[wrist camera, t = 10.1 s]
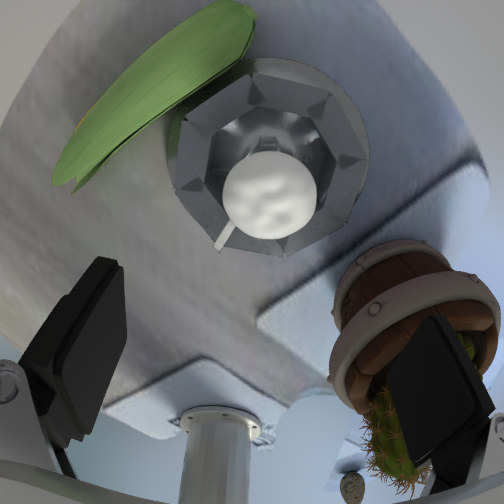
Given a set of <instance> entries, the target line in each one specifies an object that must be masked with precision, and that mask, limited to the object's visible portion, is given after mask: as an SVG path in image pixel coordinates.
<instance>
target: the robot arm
mask: <svg viewBox="0 0 504 504" xmlns="http://www.w3.org/2000/svg"><path fill="white" fill-rule="evenodd" d="M126 340H127V326H126V312H125V294H124V270H123V267H122V266H118V261H117V260H115V259H110V258H105V257H101V256H98V257H97V258H96V259H95V260H94V261H93V262H92V264H91V265H90V266H89V268H88V269H87V270H86V272H85V273H84V274H83V275H82V277H81V278H80V279H79V281H78V282H77V283H76V285H75V286H74V288H73V289H72V290H71V292H70V293H69V294H68V295H65V296H63V297H62V298H61V299H60V300H59V302H58V303H57V305H56V306H55V307H54V309H53V310H52V312H51V313H50V314H49V316H48V317H47V319H46V320H45V322H44V323H43V325H42V326H41V328H40V329H39V331H38V332H37V334H36V335H35V337H34V338H33V340H32V341H31V343H30V344H29V346H28V347H27V349H26V351H25V352H24V354H23V355H22V357H21V359H20V360H19V362H18V363H15V362H13V361H11V360H6V359H1V360H0V504H168V503H163V502H158V501H153V500H148V499H144V498H139V497H135V496H131V495H128V494H124V493H120V492H116V491H113V490H109V489H106V488H103V487H99V486H96V485H93V484H90V483H87V482H84V481H80V479H79V477H78V475H77V472H76V470H75V468H74V466H73V464H72V461H71V459H70V457H69V455H68V452H67V450H66V448H67V447H68V445H69V443H70V440H71V438H72V439H75V440H78V441H81V442H82V441H83V438H84V435H85V434H87V435H89V434H90V433H91V432H92V430H93V427H94V424H95V421H96V418H97V416H98V412H99V410H100V407H101V405H102V402H103V399H104V397H105V394H106V391H107V389H108V386H109V384H110V381H111V379H112V376H113V373H114V371H115V368H116V366H117V364H118V361H119V359H120V356H121V354H122V351H123V349H124V347H125V344H126ZM387 383H388V386H389V389H390V392H391V395H392V399H393V402H394V405H395V408H396V412H397V415H398V418H399V422H400V425H401V429H402V432H403V436H404V439H405V443H406V447H407V450H408V454H409V458H410V460H411V461H412V462H413V464H414V468H415V469H420V468H425V467H428V466H429V465H431V464H432V466H433V468H432V470H431V473H430V475H429V477H428V480H427V482H426V484H425V487H424V489H423V491H422V493H421V495H420V497H419V498H417V499H413V500H408V501H404V502H399V503H394V504H504V413H497V414H495V415H494V416H493V417H492V418H491V419H489V417H488V416H489V415H490V414H491V413H492V412H493V411H494V410H495V409H496V408H495V406H494V404H493V402H492V400H491V398H490V396H489V394H488V392H487V390H486V388H485V386H484V384H483V382H482V380H481V378H480V376H479V374H478V372H477V370H476V368H475V366H474V365H473V363H472V361H471V359H470V357H469V355H468V354H467V352H466V350H465V348H464V347H463V345H462V343H461V341H460V340H459V338H458V336H457V334H456V333H455V331H454V329H453V328H452V326H451V324H450V323H449V321H448V319H447V318H446V317H445V316H442V315H434V314H430V315H428V316H427V317H426V318H424V319H423V320H422V321H421V323H420V325H419V326H418V328H417V329H416V331H415V333H414V334H413V336H412V337H411V339H410V340H409V342H408V343H407V345H406V346H405V348H404V349H403V351H402V352H401V354H400V355H399V357H398V358H397V359H396V361H395V362H394V364H393V365H392V367H391V368H390V369H389V371H388V373H387ZM180 427H181V429H182V430H183V431H184V432H185V433H186V434H188V438H187V444H186V451H185V457H184V465H183V471H182V477H181V484H180V491H179V499H178V504H249V483H250V454H251V441H254V440H255V439H257V438H258V437H259V436H260V435H261V423H260V421H259V420H258V419H257V418H255V417H254V416H253V415H251V414H249V413H247V412H244V411H241V410H238V409H234V408H229V407H221V406H203V407H196V408H192V409H190V410H187V411H186V412H184V413H183V414H182V415H181V418H180Z"/></svg>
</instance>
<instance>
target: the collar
mask: <svg viewBox="0 0 504 504" xmlns="http://www.w3.org/2000/svg"><path fill="white" fill-rule="evenodd" d="M260 135H264V136H276V137H277V138H279V139H280V140H281V141H283V142H284V143H285V144H287V146H288V147H289V148H290V149H291V151H292V152H293V153H294V154H295V156H296V157H297V158H298V159H299V160H300V161H301V162H302V163H303V164H304V165H305V167H306V168H307V169H308V170H309V172H310V173H311V175H312V177H313V179H314V181H315V184H316V190H317V197H316V207H315V211H314V214H313V216H312V217H311V219H310V220H309V221H308V223H307V224H306V225H305V226H304V227H302V228H301V229H299V230H298V231H296V232H294V233H292V234H290V235H288V236H286V237H283V238H279V239H260V238H255V237H252V236H250V235H248V234H246V233H244V232H243V231H241V230H240V229H239V228H238V227H237V226H235V228H234V230H233V231H232V233H231V235H230V236H229V238H228V240H227V241H226V243H225V245H224V247H229V248H235V249H240V250H245V251H251V252H256V253H261V254H267V255H272V256H277V257H283V254H284V253H285V254H286V256H287V257H288V256H290V255H292V254H293V253H295V252H297V251H299V250H301V249H303V248H305V247H307V246H308V245H310V244H312V243H314V242H316V241H318V240H320V239H322V238H323V237H325V236H327V235H329V234H331V233H333V232H335V231H336V230H338V229H340V228H342V227H344V226H343V224H342V222H345V223H347V221H348V218H349V216H350V213H351V210H352V207H353V205H354V204H355V202H356V200H357V199H358V197H359V195H360V193H361V191H362V188H363V186H364V183H365V179H366V176H367V172H368V165H369V143H368V137H367V132H366V129H365V125H364V122H363V120H362V118H361V115H360V113H359V111H358V109H357V108H356V106H355V104H354V103H353V101H352V100H351V98H350V97H349V96H348V95H347V94H346V92H345V91H344V90H343V89H342V88H341V87H340V86H339V85H338V84H337V83H336V82H334V81H333V80H332V79H331V78H329V77H328V76H326V75H325V74H323V73H322V72H320V71H318V70H316V69H314V68H312V67H310V66H308V65H305V64H302V63H299V62H296V61H293V60H287V59H281V58H255V59H248V60H244V61H240V62H237V63H236V64H234V65H233V66H232V67H231V68H230V69H229V70H228V71H227V72H225V73H224V74H222V75H220V76H219V77H217V78H216V79H214V80H213V81H211V82H210V83H208V84H207V85H205V86H204V87H202V88H201V89H199V90H198V91H196V92H195V93H193V94H192V95H190V96H189V97H187V98H186V99H185V100H184V101H183V103H182V104H181V105H180V107H179V109H178V111H177V113H176V115H175V117H174V120H173V123H172V125H171V128H170V132H169V137H168V143H167V162H168V170H169V174H170V179H171V182H172V185H173V188H174V190H175V194H176V195H177V196H178V198H179V200H180V202H181V203H182V204H183V206H184V207H185V209H186V210H187V212H188V213H189V214H190V215H191V216H192V217H193V218H194V219H195V220H196V221H197V222H198V223H199V224H200V225H201V226H202V228H203V229H204V230H205V231H206V233H207V234H208V235H209V236H210V238H211V239H212V240H213V241H214V242H216V240H217V238H218V237H219V235H220V234H221V232H222V231H223V229H224V227H225V226H226V224H227V223H228V221H229V220H230V218H229V216H228V215H227V213H226V211H225V208H224V205H223V199H222V195H223V188H224V184H225V181H226V178H227V176H228V174H229V172H230V171H231V169H232V168H233V167H234V166H235V164H236V163H237V162H238V160H239V159H240V157H241V155H242V153H243V152H244V150H245V148H246V146H247V145H248V143H250V142H251V141H253V140H254V139H256V138H257V137H259V136H260Z"/></svg>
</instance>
